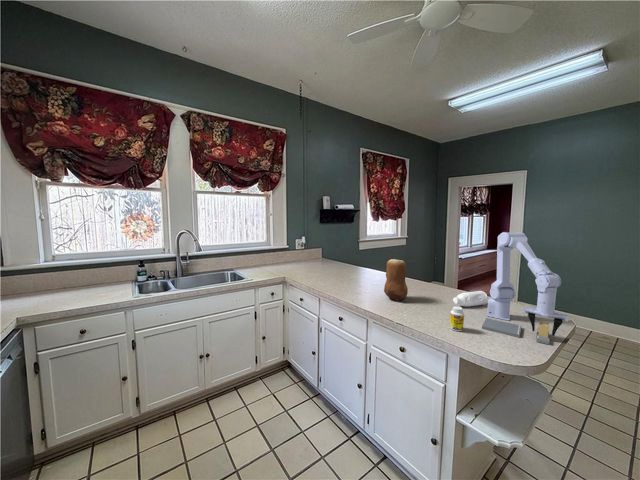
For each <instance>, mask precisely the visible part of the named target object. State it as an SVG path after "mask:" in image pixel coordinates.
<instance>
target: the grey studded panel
mask: <svg viewBox="0 0 640 480" xmlns="http://www.w3.org/2000/svg"><path fill="white" fill-rule="evenodd" d="M481 329H483V330H486V331H490V332H494V333H497V334H498V333H499V334H502V335H506V336H511V337H514V338H519V339H520V338H521V332H522V325H520V324H515V323H510V322H506V321H502V320H497V319H492V318H489V317H486V318H485V319H484V321H483V323H482V326H481Z"/></svg>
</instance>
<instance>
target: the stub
mask: <svg viewBox="0 0 640 480" xmlns="http://www.w3.org/2000/svg"><path fill="white" fill-rule="evenodd" d="M538 324H539V326H538V328H536V342H537V343H541V344H545V345H550V331H549V329H550V325H549V323H548V322H544V321H539V323H538Z"/></svg>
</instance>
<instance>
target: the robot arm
mask: <svg viewBox="0 0 640 480" xmlns="http://www.w3.org/2000/svg"><path fill="white" fill-rule="evenodd" d="M528 240H529V239H528V237H527V236H526V234H525V233H524V232H523V231H518V232H516V231H515V232H507V231H503V232H501V233H500V234H498V236H497V247H496V252H497V253H496V254H497V255H496V280H495V281H493V282H492V283H491V284H490V285H491V287H490V290H489V295H490V297H489V298H488V301H487V308H486V309H487V310H486V312H487V313H486V316H487V317H491V318H495V319H499V320H504V321H508V322H509V321H510V320H511V317H512V316H511V314H510V312H511V302H512V300H513V299H514V298H516V297H515V296H516V292H515V285H514V284H513V283H512V282H511V278H510V277H511V275H510V274H511V273H510V272H511V251H512V250H513V249H517V250H518V251H519V252H520V253H521V255H523V257H524V258H525V260H527V267H528V269H530V271H531V273H532V274H533V275H534V277H535V284H536V286H537V288H536V290H537V291H538V292H537V300H536V308H529V307H523V309H522V311H523V314H527V316H528V317H527V318H528V320H529V322H530V324H531V328H532V332H535V328H536V327H535V326H536V324H535V323H536V316H540V317H545V318H551V319H553V327H552V329H551V330H552V331H551V336H553V337H555V335H556V333H557V330H558V329H559V328H560V327H561V326H562V324H563V321H564V322H569V318H570V317H569V315H567V314H562V313H558V312H555V308H556V299H557V291H558V288H559V287H560V286H561V285H562V279H561V277H560V275H559V274H557V273H554V272H553V271H552V270H551V269H550V268H549V266H547V265H546V261H545V260H543V259H541V258H538V257H537V256H536V254H535V252H534V251H533V249H532V247H531V246H530V245H529V243H528Z"/></svg>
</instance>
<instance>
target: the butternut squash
mask: <svg viewBox="0 0 640 480" xmlns="http://www.w3.org/2000/svg"><path fill="white" fill-rule="evenodd" d="M406 276H407V265H406V261H404V260H402V259H401V260H400V259H396V258H393V259H392V258H391V259H389V260H388V261H387V262H386V272H385V278H386V280H385V283H384V287H383V289H384V290H383V292H384V294H385V295H386V296H387V297H388V298H389V299H392V300H394V301H401V300H404V299H406V297H407V296H408V293H409V291H408V290H409V289H408V288H409V287H408V286H407V282H406Z"/></svg>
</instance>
